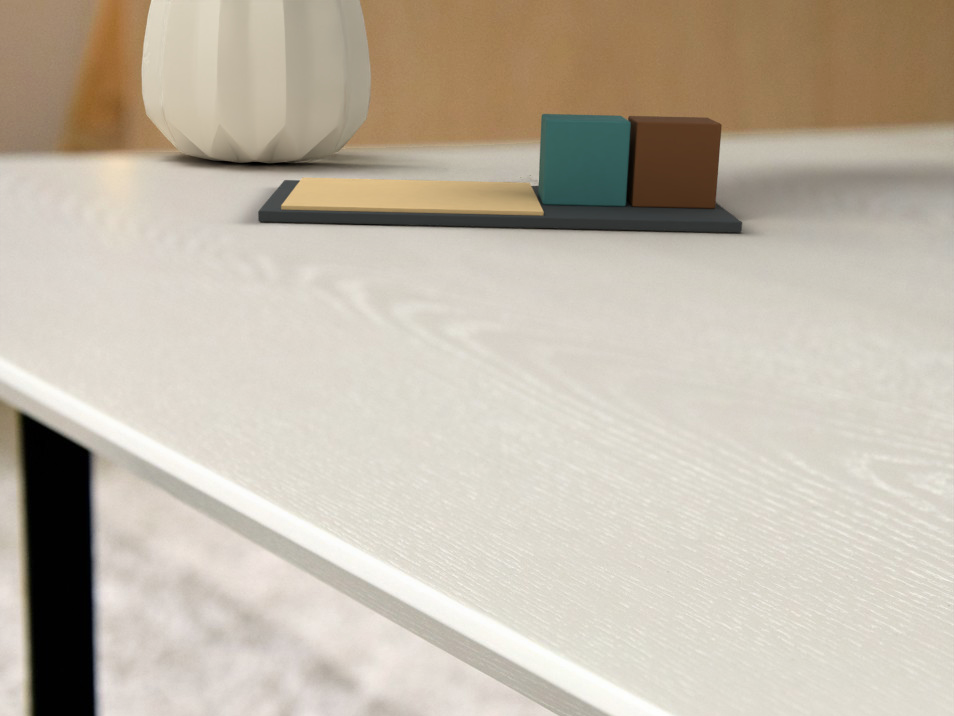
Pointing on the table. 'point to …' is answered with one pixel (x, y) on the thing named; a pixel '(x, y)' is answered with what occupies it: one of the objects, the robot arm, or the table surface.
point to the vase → (256, 77)
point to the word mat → (547, 184)
